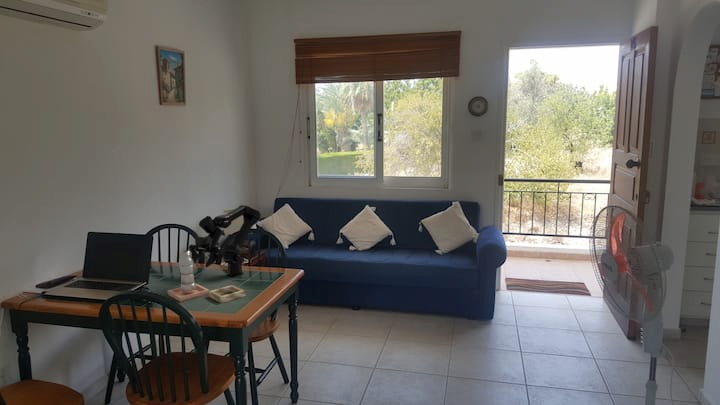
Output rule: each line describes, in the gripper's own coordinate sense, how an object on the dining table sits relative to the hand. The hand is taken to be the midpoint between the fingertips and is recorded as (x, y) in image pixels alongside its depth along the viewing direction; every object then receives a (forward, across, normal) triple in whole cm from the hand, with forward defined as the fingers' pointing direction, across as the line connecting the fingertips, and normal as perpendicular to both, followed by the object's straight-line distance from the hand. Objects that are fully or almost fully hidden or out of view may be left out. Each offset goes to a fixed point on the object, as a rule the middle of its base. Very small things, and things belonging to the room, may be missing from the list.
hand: (198, 266), depth 232 cm
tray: (+13, 0, +3) cm, 14 cm away
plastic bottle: (+13, 0, +3) cm, 13 cm away
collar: (+10, +19, +6) cm, 22 cm away
